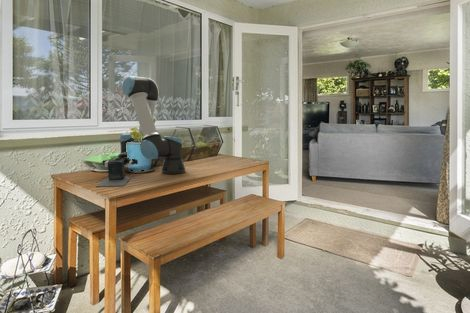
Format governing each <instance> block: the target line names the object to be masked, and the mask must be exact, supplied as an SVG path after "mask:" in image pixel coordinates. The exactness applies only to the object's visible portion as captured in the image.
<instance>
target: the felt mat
mask: <svg viewBox="0 0 470 313" xmlns="http://www.w3.org/2000/svg"><path fill="white" fill-rule="evenodd" d="M131 178H132V177H131V176H125V178H124V179H123V180H109V177H105V178H104V179H103V180H101V182H99V183H98V184H97V185H96V186H95V187H96V188H110V187H111V188H115V187H117V188H118V187H125V186H126V185H127V183H129V182H130V180H131Z"/></svg>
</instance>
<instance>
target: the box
mask: <svg viewBox="0 0 470 313" xmlns="http://www.w3.org/2000/svg"><path fill="white" fill-rule="evenodd" d="M107 170H108V172H107V173H108V178H109V180H123V179H124V178H125V177H126V174H125V172H126V171H125V165H124V160H112V161H109V162H108V166H107Z"/></svg>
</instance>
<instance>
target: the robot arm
mask: <svg viewBox="0 0 470 313" xmlns="http://www.w3.org/2000/svg"><path fill="white" fill-rule="evenodd" d="M121 90H122V93H123V95H125V96H128V100H129V101H130V102H132V104H133V108H134V110H135V113H136V114H135V115H136V117H137V121H138V124H139V127H138V132H141V131H142V134H143V138H142V142H141V144H140V146H139V150H140V153H141V155H142V156H143V157H144V158H145V159H147V160H156V159H162V158H163V162H162V166H161V174H164V175H179V174H180V175H181V174H184V173H186V167H185V164H184V162H183V141H182V138H181V137H179V136H166V135H163V137H162V135H161V134H160V133H159V132H157V127H156V125H155V121H154V119H153V118H154V112H155V108H156V103H157V101H158V100H159V96H160V95H159V92H160V91H159V87H158V85H157V83H156V82H155V80H153V79H152V78H150V77H143V76H134V75H133V76H132V75H129V76H126V77H125V78H124V79H123V81H122V85H121ZM131 134H132V133H128V132H127V133H121V134H120V136H119V143H120V144H119V145H120V154H119V155H118V156H117V158H116V157H115V158H107V159H105V160H102V165H103V166H104V167H105V168H108V162H109V161H112V160H124V166H127V165H129V166H128V167H130V168H131V167H132V166H133V165H138V164H139V163H138V162H139V161H138V160H139V159H136V158H134V159H132V160H131V159H129V158H127V152H126V143H127V142H131V141H134V139H133V138H132V136H133V135H132V136H131Z"/></svg>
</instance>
